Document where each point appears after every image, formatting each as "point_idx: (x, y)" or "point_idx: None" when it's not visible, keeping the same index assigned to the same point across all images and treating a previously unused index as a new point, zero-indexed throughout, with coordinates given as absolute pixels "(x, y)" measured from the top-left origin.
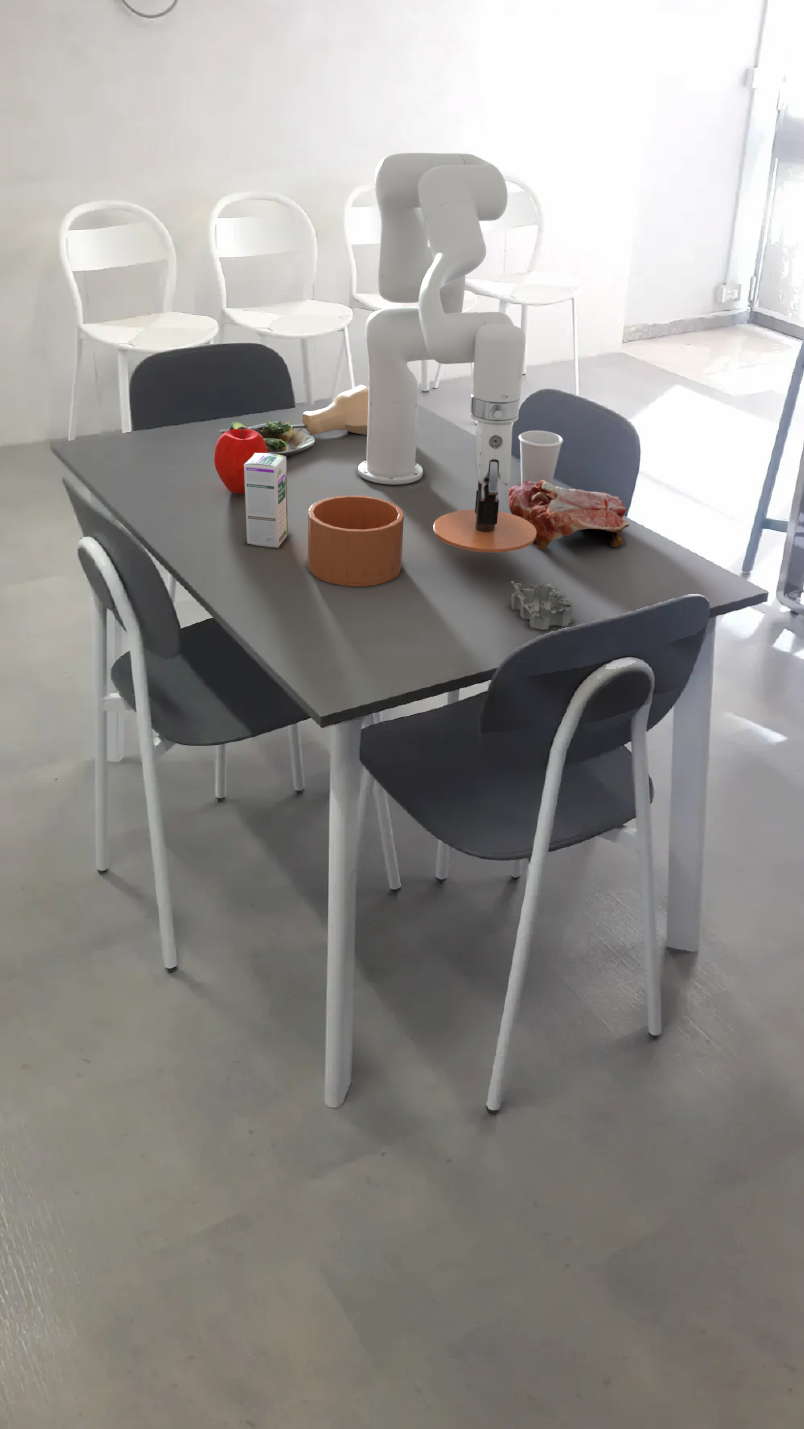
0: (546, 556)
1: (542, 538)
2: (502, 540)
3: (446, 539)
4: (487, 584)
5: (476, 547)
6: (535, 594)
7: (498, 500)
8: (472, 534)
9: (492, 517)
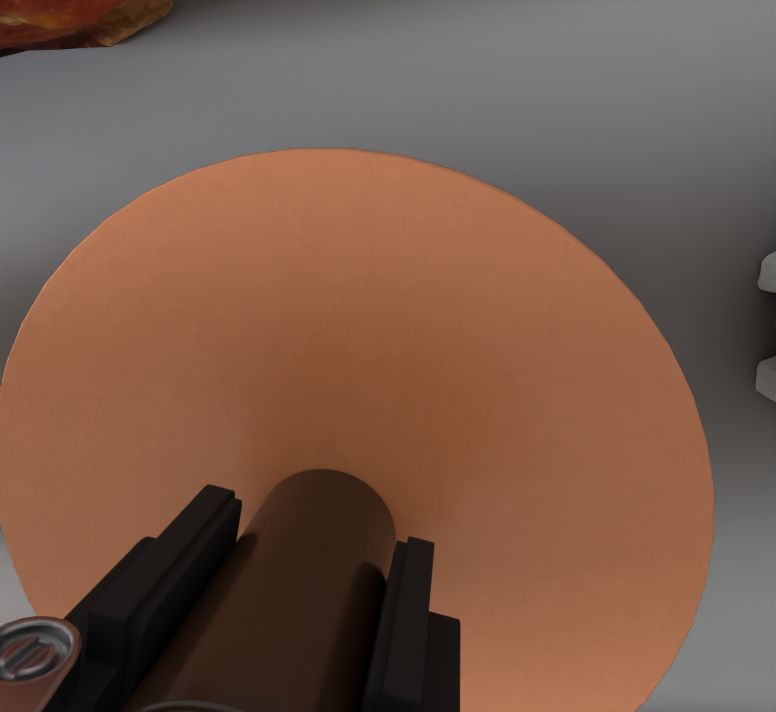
0: (243, 22)
1: (121, 1)
2: (563, 493)
3: None
4: None
5: (642, 695)
6: (773, 280)
7: (401, 702)
8: None
9: (460, 637)
